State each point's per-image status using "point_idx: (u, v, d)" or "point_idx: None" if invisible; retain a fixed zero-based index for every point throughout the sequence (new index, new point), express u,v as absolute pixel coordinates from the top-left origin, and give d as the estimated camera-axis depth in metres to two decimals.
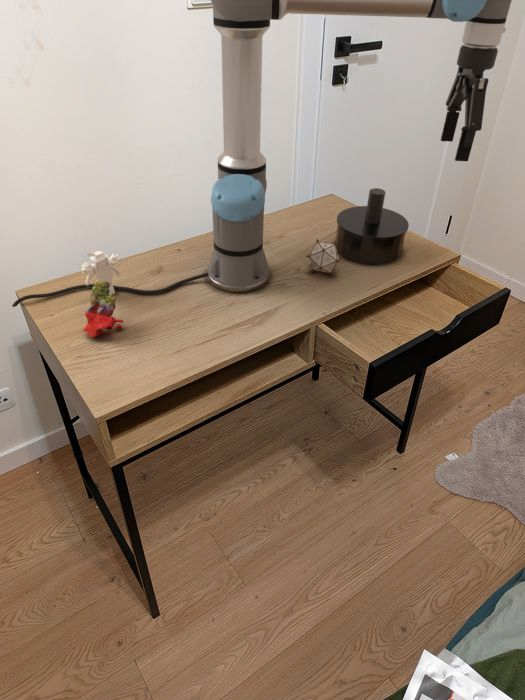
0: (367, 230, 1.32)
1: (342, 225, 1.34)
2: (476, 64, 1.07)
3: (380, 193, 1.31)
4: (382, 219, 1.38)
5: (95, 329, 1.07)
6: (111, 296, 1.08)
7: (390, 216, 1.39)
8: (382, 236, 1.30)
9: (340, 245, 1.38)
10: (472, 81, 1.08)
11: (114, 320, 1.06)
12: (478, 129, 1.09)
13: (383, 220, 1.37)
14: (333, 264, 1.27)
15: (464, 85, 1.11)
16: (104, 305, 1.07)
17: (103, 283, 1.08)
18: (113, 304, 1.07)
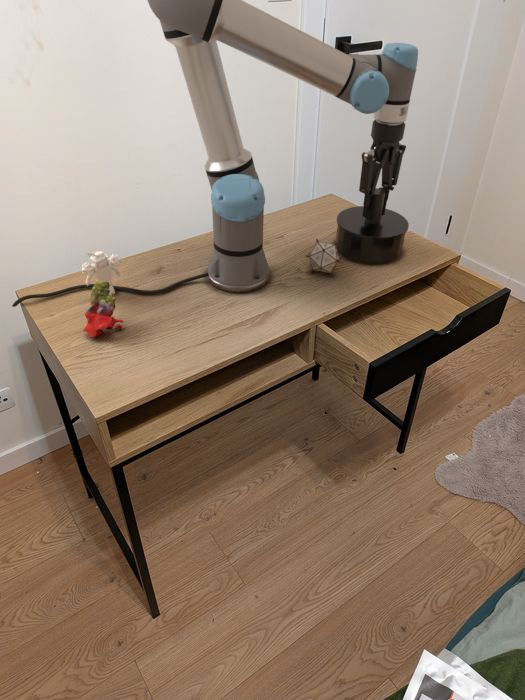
0: (367, 230, 1.32)
1: (342, 225, 1.34)
2: (373, 135, 1.22)
3: (380, 193, 1.31)
4: (382, 219, 1.38)
5: (95, 329, 1.07)
6: (111, 296, 1.08)
7: (390, 216, 1.39)
8: (382, 236, 1.30)
9: (340, 245, 1.38)
10: None
11: (114, 320, 1.06)
12: (365, 193, 1.28)
13: (383, 220, 1.37)
14: (333, 264, 1.27)
15: None
16: (104, 305, 1.07)
17: (103, 283, 1.08)
18: (113, 304, 1.07)
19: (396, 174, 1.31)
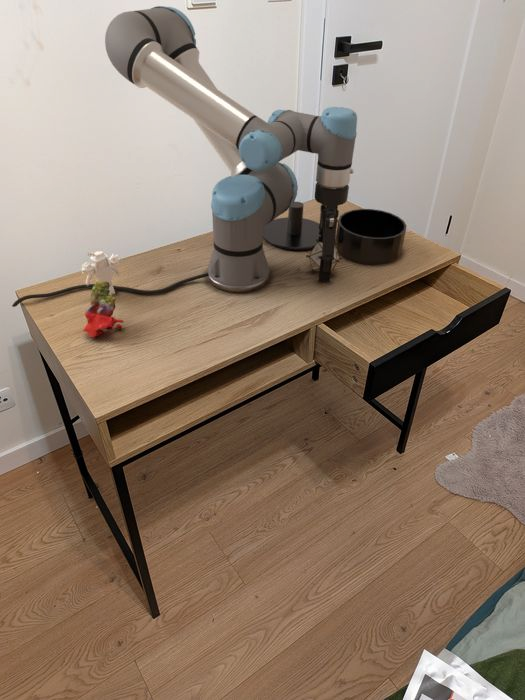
0: (286, 241, 1.41)
1: (264, 236, 1.43)
2: (328, 201, 1.16)
3: (298, 206, 1.40)
4: (304, 230, 1.47)
5: (95, 329, 1.07)
6: (111, 296, 1.08)
7: (312, 227, 1.48)
8: (299, 246, 1.39)
9: (340, 245, 1.38)
10: (326, 215, 1.18)
11: (114, 320, 1.06)
12: (331, 260, 1.20)
13: (304, 231, 1.46)
14: (333, 264, 1.27)
15: (321, 216, 1.20)
16: (104, 305, 1.07)
17: (103, 283, 1.08)
18: (113, 304, 1.07)
19: None
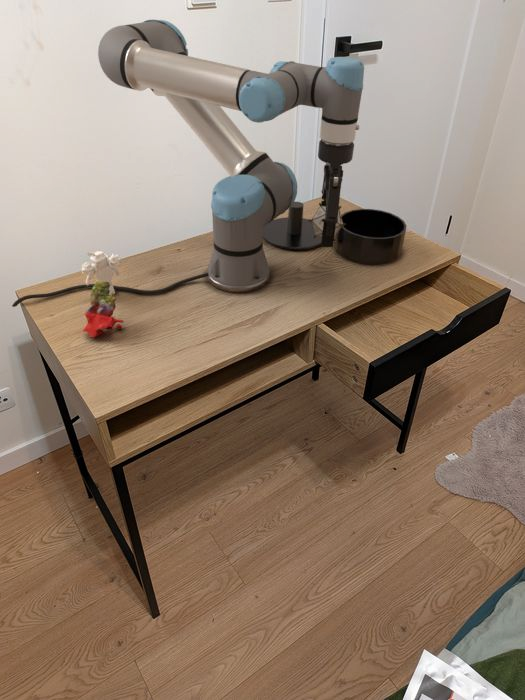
0: (286, 241, 1.41)
1: (264, 236, 1.43)
2: (332, 159, 1.11)
3: (298, 206, 1.40)
4: (304, 230, 1.47)
5: (95, 329, 1.07)
6: (111, 296, 1.08)
7: (312, 227, 1.48)
8: (299, 246, 1.39)
9: (340, 245, 1.38)
10: (330, 175, 1.13)
11: (114, 320, 1.06)
12: (334, 222, 1.15)
13: (304, 231, 1.46)
14: (336, 229, 1.22)
15: (325, 176, 1.15)
16: (104, 305, 1.07)
17: (103, 283, 1.08)
18: (113, 304, 1.07)
19: None
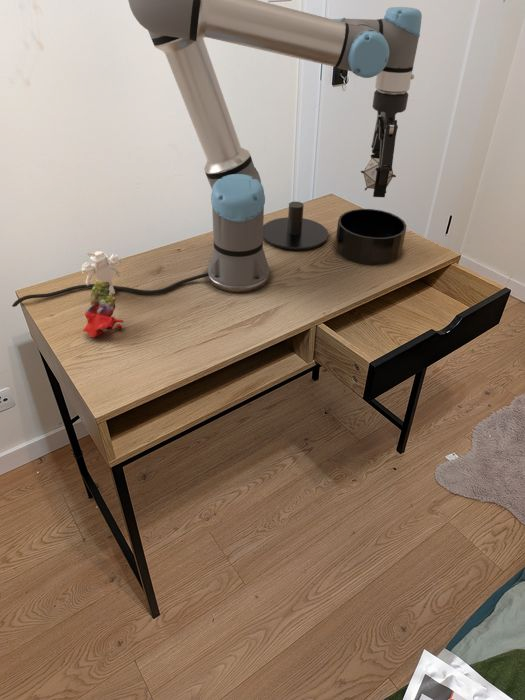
0: (286, 241, 1.41)
1: (264, 236, 1.43)
2: (387, 108, 1.15)
3: (298, 206, 1.40)
4: (304, 230, 1.47)
5: (95, 329, 1.07)
6: (111, 296, 1.08)
7: (312, 227, 1.48)
8: (299, 246, 1.39)
9: (340, 245, 1.38)
10: (385, 124, 1.17)
11: (114, 320, 1.06)
12: (389, 170, 1.19)
13: (304, 231, 1.46)
14: (388, 179, 1.26)
15: (379, 126, 1.19)
16: (104, 305, 1.07)
17: (103, 283, 1.08)
18: (113, 304, 1.07)
19: None
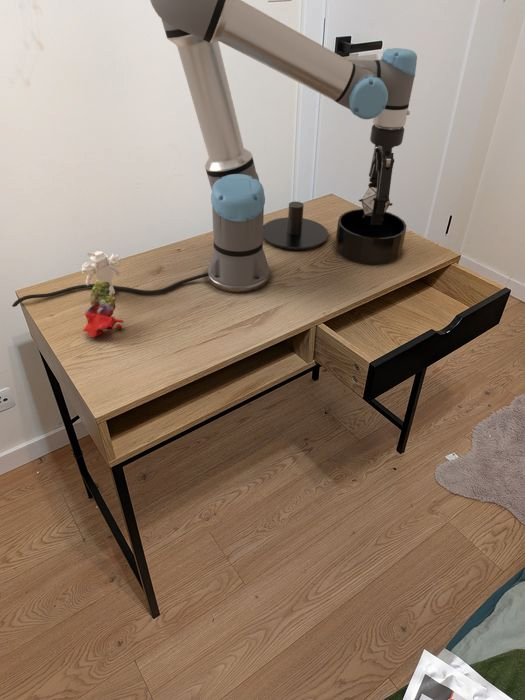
0: (286, 241, 1.41)
1: (264, 236, 1.43)
2: (384, 142, 1.21)
3: (298, 206, 1.40)
4: (304, 230, 1.47)
5: (95, 329, 1.07)
6: (111, 296, 1.08)
7: (312, 227, 1.48)
8: (299, 246, 1.39)
9: (340, 245, 1.38)
10: (382, 157, 1.22)
11: (114, 320, 1.06)
12: (386, 200, 1.25)
13: (304, 231, 1.46)
14: (385, 208, 1.32)
15: (377, 159, 1.25)
16: (104, 305, 1.07)
17: (103, 283, 1.08)
18: (113, 304, 1.07)
19: None
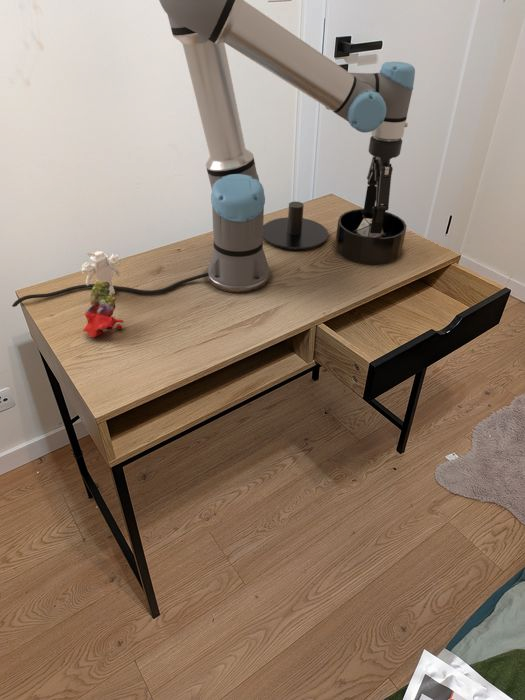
0: (286, 241, 1.41)
1: (264, 236, 1.43)
2: (382, 154, 1.22)
3: (298, 206, 1.40)
4: (304, 230, 1.47)
5: (95, 329, 1.07)
6: (111, 296, 1.08)
7: (312, 227, 1.48)
8: (299, 246, 1.39)
9: (340, 245, 1.38)
10: (380, 167, 1.24)
11: (114, 320, 1.06)
12: (385, 209, 1.24)
13: (304, 231, 1.46)
14: None
15: (375, 169, 1.26)
16: (104, 305, 1.07)
17: (103, 283, 1.08)
18: (113, 304, 1.07)
19: None
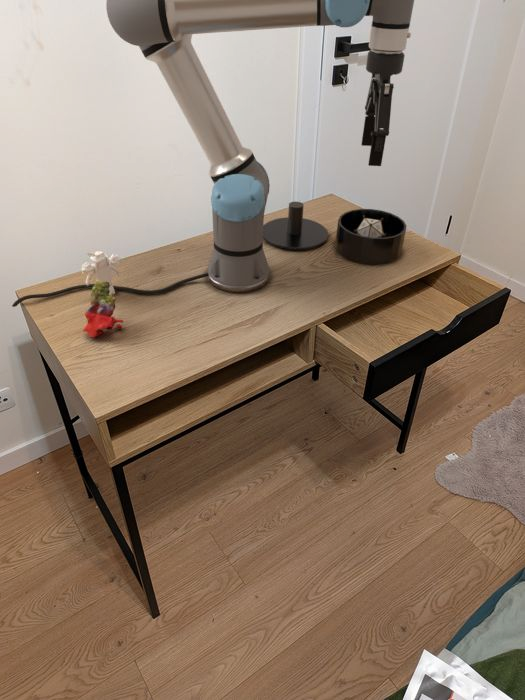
0: (286, 241, 1.41)
1: (264, 236, 1.43)
2: (382, 69, 1.07)
3: (298, 206, 1.40)
4: (304, 230, 1.47)
5: (95, 329, 1.07)
6: (111, 296, 1.08)
7: (312, 227, 1.48)
8: (299, 246, 1.39)
9: (340, 245, 1.38)
10: (379, 86, 1.08)
11: (114, 320, 1.06)
12: (386, 134, 1.09)
13: (304, 231, 1.46)
14: None
15: (373, 90, 1.11)
16: (104, 305, 1.07)
17: (103, 283, 1.08)
18: (113, 304, 1.07)
19: None
